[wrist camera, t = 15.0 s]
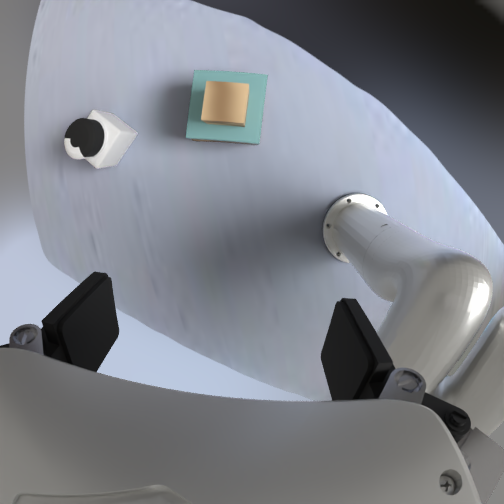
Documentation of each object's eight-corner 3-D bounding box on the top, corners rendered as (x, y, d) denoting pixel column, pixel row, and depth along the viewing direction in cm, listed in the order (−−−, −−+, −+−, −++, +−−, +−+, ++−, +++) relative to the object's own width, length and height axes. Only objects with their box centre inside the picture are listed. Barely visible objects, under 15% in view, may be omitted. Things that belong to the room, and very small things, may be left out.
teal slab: (266, 81, 35) (267, 74, 31) (258, 144, 39) (259, 143, 35) (199, 77, 35) (194, 70, 31) (192, 139, 38) (185, 137, 35)
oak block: (249, 92, 32) (248, 83, 28) (244, 127, 34) (243, 123, 29) (212, 89, 32) (206, 80, 28) (207, 124, 34) (201, 119, 29)
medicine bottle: (112, 112, 40) (75, 105, 28) (139, 133, 41) (105, 130, 30) (91, 145, 41) (52, 147, 30) (116, 166, 43) (79, 173, 32)
